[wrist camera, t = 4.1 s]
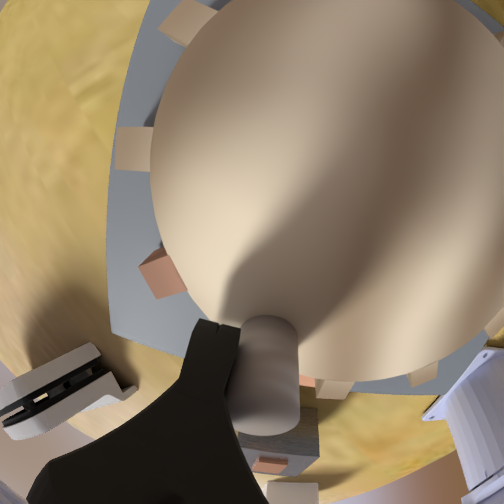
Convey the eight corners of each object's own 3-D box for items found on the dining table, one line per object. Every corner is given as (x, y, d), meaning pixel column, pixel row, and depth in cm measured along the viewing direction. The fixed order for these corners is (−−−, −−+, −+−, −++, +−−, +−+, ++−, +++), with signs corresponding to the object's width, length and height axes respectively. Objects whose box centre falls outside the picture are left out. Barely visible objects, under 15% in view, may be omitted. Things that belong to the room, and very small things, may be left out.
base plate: (546, 90, 6) (562, 90, 4) (438, 379, 14) (445, 395, 13) (196, -59, 6) (187, -75, 4) (123, 317, 14) (110, 333, 13)
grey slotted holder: (66, 411, 22) (8, 447, 13) (45, 376, 23) (-16, 407, 13) (141, 388, 17) (43, 461, 8) (107, 333, 17) (-5, 385, 8)
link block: (317, 407, 16) (319, 460, 12) (296, 433, 18) (295, 480, 14) (244, 395, 16) (235, 450, 12) (233, 422, 18) (224, 470, 14)
